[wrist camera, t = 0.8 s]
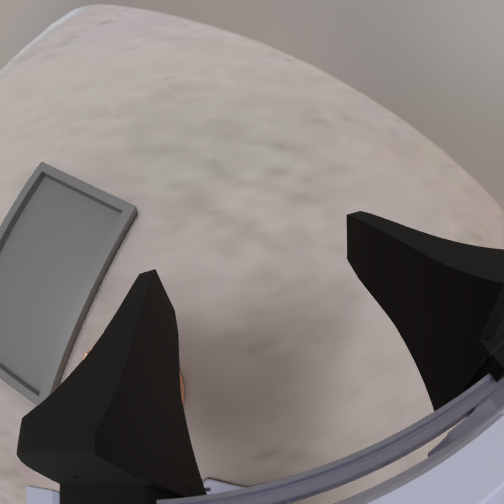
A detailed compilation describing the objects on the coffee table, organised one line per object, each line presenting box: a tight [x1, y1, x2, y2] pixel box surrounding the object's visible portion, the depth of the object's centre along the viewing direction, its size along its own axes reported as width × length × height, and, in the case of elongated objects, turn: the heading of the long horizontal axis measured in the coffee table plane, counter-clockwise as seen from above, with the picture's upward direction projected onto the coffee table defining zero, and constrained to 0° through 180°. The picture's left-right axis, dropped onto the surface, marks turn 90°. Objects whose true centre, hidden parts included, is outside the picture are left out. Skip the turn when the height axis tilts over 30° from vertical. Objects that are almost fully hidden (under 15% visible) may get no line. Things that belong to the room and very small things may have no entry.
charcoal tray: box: [0, 162, 138, 406], centre depth 19 cm, size 18×11×2 cm, turn 159°
